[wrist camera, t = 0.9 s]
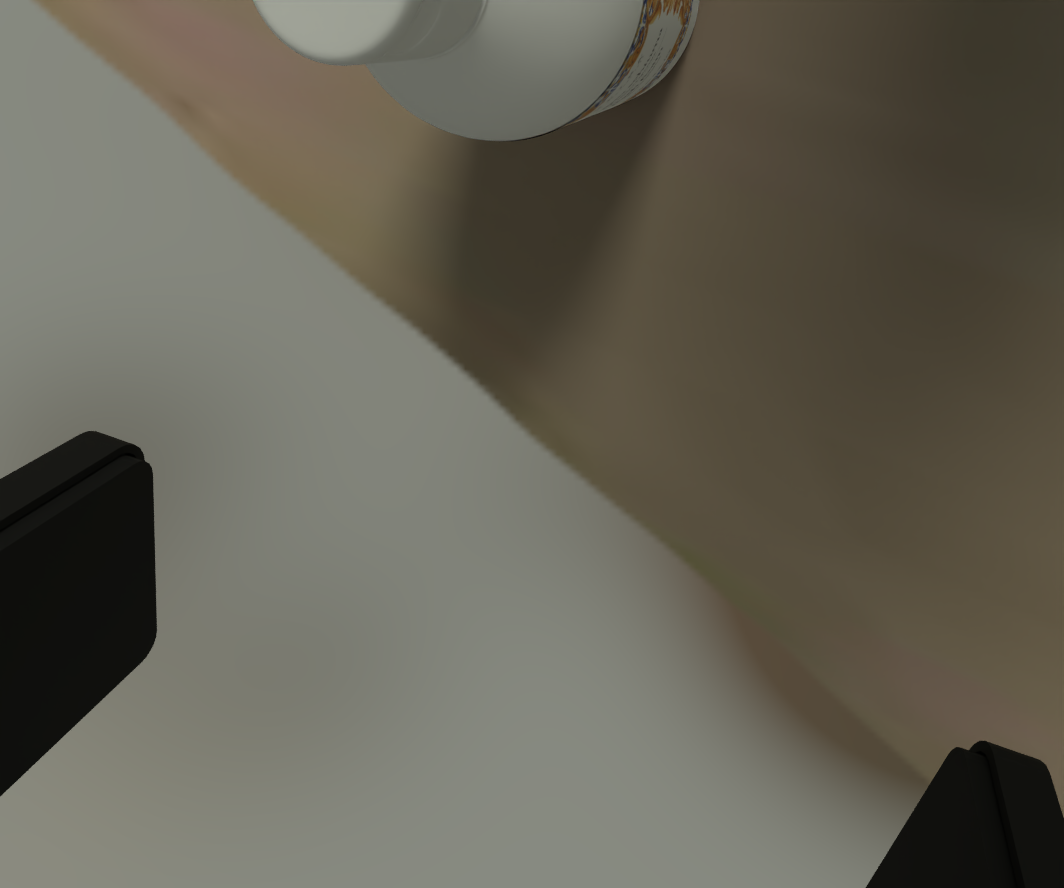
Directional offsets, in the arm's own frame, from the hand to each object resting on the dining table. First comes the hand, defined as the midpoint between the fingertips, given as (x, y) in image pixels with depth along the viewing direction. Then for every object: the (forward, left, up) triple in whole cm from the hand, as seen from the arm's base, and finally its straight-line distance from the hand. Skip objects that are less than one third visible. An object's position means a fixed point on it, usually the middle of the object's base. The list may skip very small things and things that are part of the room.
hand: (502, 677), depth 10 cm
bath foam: (-6, -6, -26) cm, 28 cm away
